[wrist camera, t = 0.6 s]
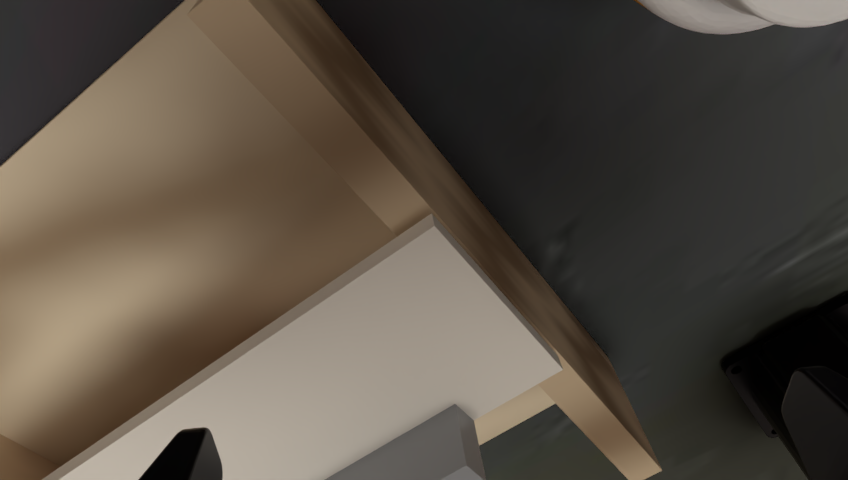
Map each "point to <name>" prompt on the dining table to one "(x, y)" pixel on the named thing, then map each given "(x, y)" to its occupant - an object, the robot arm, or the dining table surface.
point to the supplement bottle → (746, 13)
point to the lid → (353, 378)
